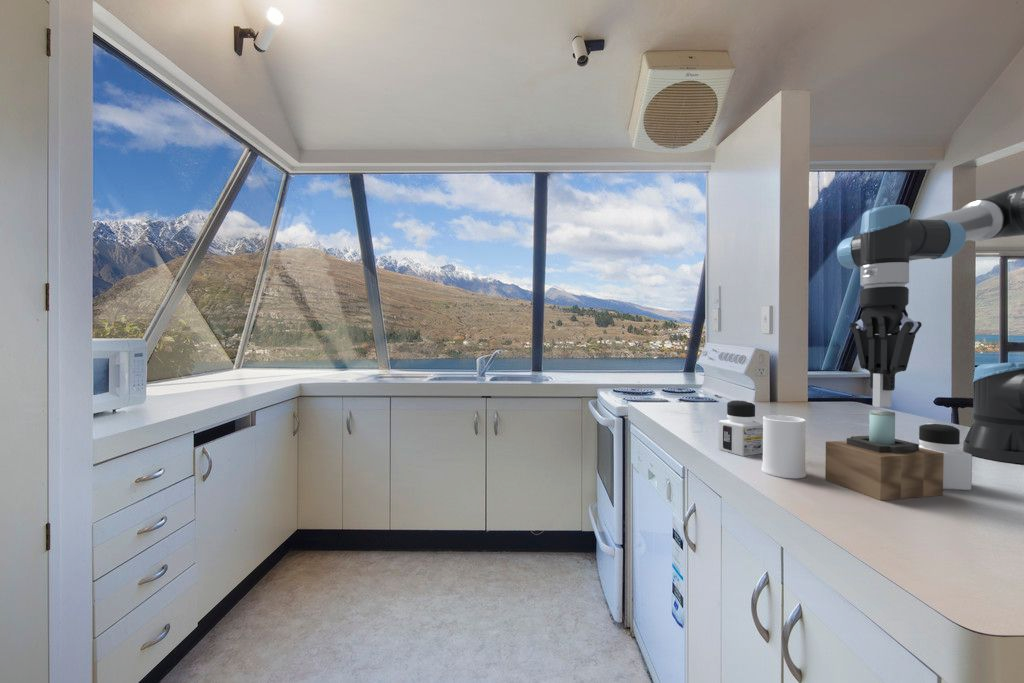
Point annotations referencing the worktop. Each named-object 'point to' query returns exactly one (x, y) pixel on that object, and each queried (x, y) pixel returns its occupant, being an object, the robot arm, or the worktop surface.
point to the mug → (784, 446)
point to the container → (741, 430)
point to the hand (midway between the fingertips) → (881, 406)
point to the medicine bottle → (948, 454)
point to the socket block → (884, 468)
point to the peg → (882, 427)
